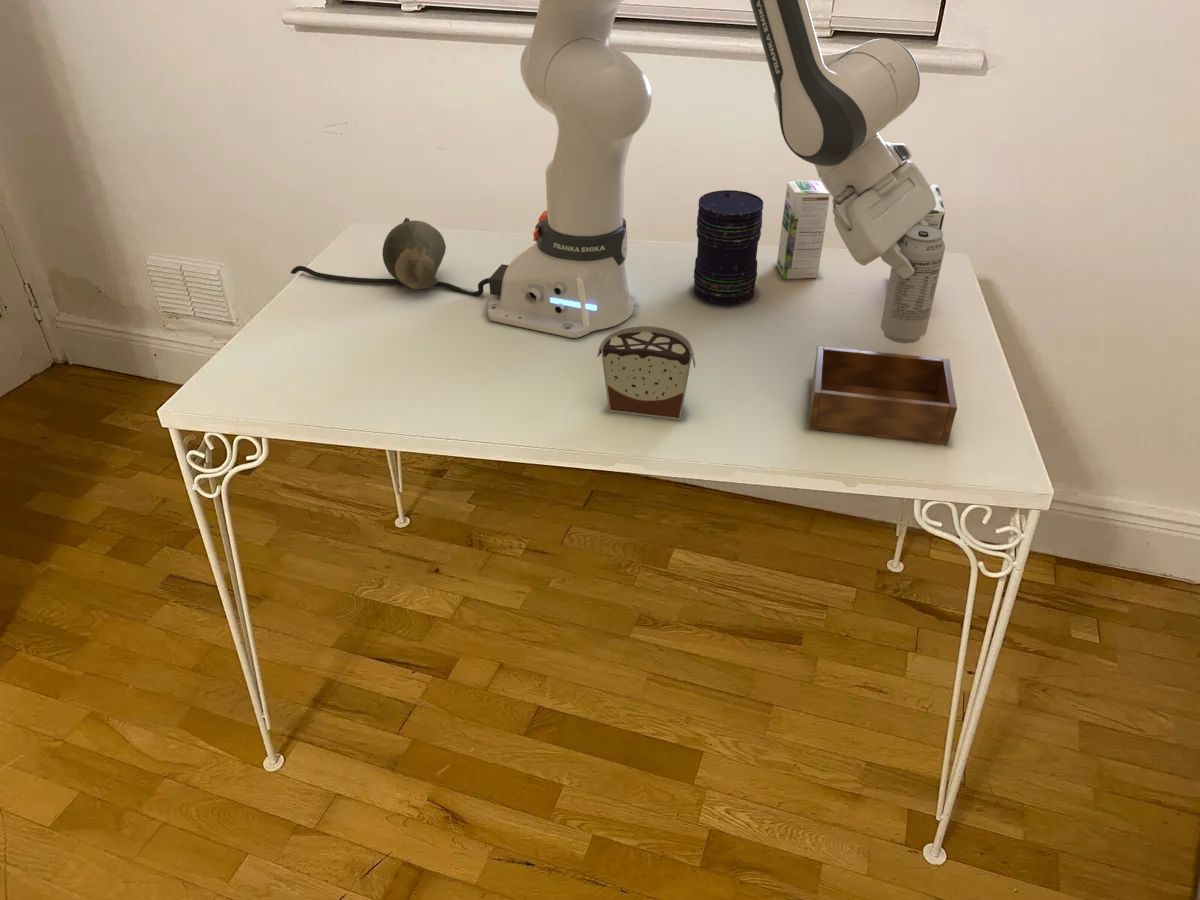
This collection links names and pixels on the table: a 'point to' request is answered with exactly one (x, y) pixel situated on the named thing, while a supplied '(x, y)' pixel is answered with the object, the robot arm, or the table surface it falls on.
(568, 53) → the robot arm
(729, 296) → the blue barrel
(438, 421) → the table surface
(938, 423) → the wooden tray
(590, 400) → the table surface
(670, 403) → the food container
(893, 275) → the energy drink can
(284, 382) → the table surface
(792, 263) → the syrup box
